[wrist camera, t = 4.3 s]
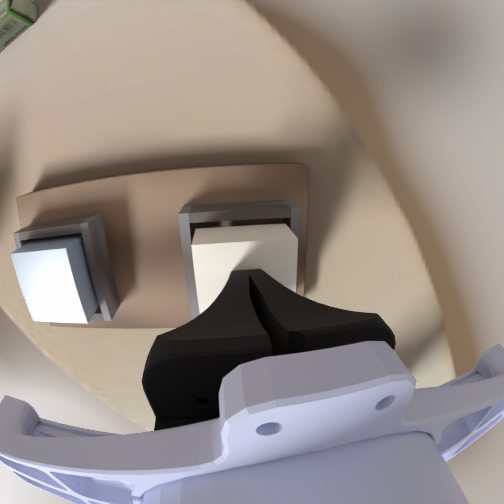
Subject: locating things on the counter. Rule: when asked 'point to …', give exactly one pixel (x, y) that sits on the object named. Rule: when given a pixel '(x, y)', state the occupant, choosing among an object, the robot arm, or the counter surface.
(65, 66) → the counter surface
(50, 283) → the blue key
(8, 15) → the medication box
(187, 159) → the counter surface
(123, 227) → the key board
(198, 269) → the cream key
